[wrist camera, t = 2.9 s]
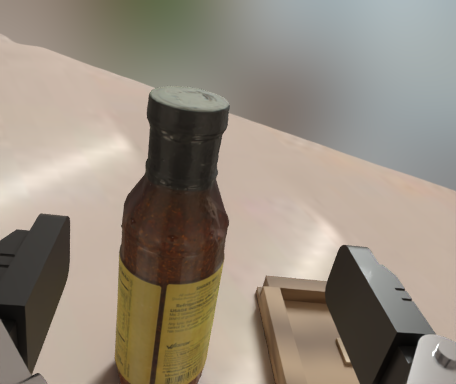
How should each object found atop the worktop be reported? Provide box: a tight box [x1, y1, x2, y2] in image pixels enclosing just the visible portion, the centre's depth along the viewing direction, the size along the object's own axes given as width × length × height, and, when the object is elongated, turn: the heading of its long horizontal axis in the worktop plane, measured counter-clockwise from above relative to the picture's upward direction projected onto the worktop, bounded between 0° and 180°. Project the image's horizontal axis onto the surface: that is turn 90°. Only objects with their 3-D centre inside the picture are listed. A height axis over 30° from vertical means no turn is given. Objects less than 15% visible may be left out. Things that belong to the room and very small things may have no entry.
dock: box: [256, 276, 360, 384], centre depth 34 cm, size 14×14×2 cm
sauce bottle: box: [115, 86, 230, 384], centre depth 26 cm, size 6×6×20 cm
